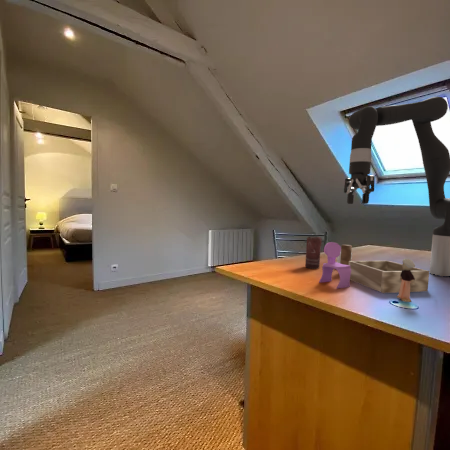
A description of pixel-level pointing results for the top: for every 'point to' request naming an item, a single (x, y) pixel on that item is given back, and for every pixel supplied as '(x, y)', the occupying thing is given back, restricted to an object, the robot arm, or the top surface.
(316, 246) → the can
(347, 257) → the peg
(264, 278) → the top surface
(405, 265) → the grandmother figurine
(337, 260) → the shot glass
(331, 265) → the toy chair
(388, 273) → the crate
